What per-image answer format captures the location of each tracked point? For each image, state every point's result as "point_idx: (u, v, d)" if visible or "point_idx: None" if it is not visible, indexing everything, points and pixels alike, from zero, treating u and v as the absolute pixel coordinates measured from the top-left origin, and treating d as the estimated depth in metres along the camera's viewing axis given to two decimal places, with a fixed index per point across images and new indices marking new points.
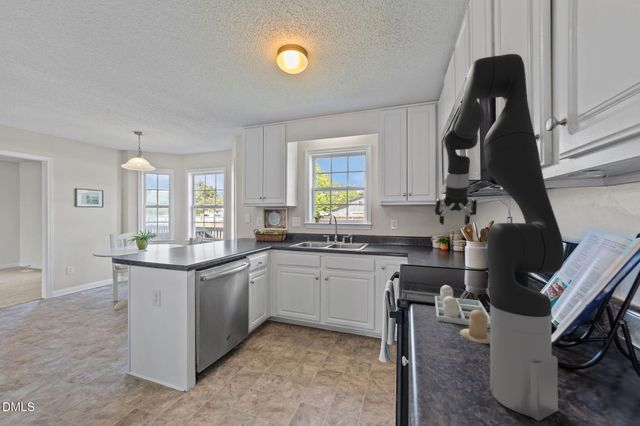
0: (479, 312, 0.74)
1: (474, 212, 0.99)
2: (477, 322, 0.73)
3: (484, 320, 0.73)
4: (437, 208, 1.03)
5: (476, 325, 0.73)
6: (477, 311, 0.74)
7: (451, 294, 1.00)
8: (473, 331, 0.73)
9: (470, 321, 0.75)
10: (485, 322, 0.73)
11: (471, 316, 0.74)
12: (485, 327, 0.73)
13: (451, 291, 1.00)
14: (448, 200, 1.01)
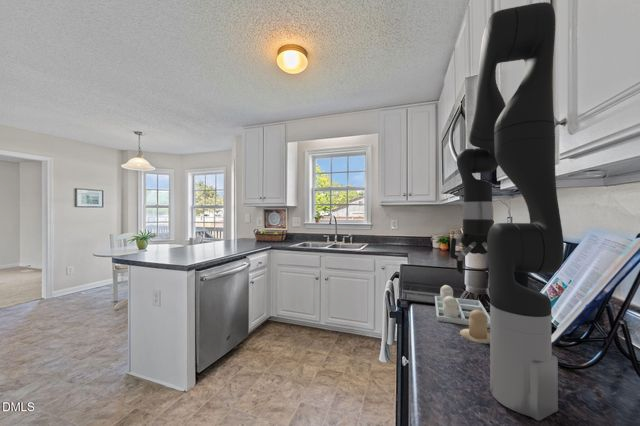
0: (479, 312, 0.74)
1: None
2: (477, 322, 0.73)
3: (484, 320, 0.73)
4: (452, 249, 0.76)
5: (476, 325, 0.73)
6: (477, 311, 0.74)
7: (451, 294, 1.00)
8: (473, 331, 0.73)
9: (470, 321, 0.75)
10: (485, 322, 0.73)
11: (471, 316, 0.74)
12: (485, 327, 0.73)
13: (451, 291, 1.00)
14: (467, 238, 0.75)
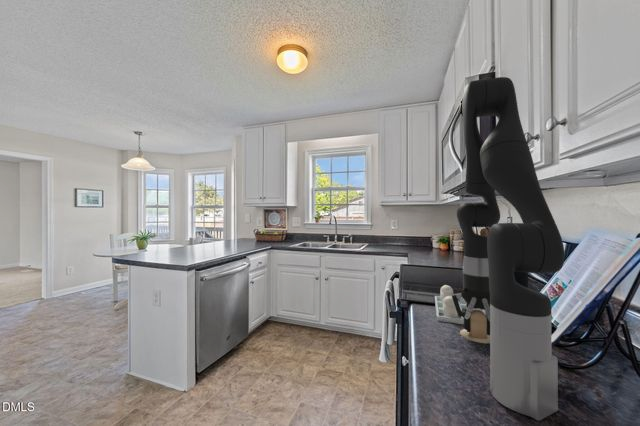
0: (479, 312, 0.74)
1: None
2: (477, 322, 0.73)
3: (484, 320, 0.73)
4: (457, 307, 0.76)
5: (476, 325, 0.73)
6: (477, 311, 0.74)
7: None
8: (473, 331, 0.73)
9: (470, 321, 0.75)
10: (485, 322, 0.73)
11: (471, 316, 0.74)
12: (485, 327, 0.73)
13: (451, 291, 1.00)
14: (466, 292, 0.75)
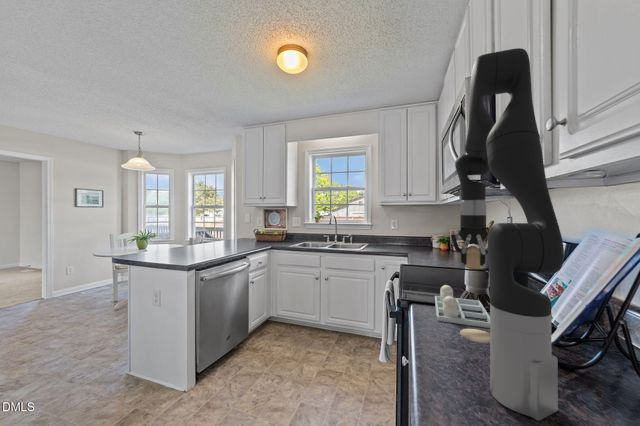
0: (474, 247, 0.87)
1: None
2: (472, 254, 0.86)
3: (478, 253, 0.86)
4: (455, 244, 0.89)
5: (471, 257, 0.86)
6: (472, 246, 0.87)
7: (451, 294, 1.00)
8: (469, 263, 0.87)
9: (466, 255, 0.88)
10: (479, 254, 0.86)
11: (467, 251, 0.87)
12: (479, 259, 0.86)
13: (451, 291, 1.00)
14: (463, 231, 0.88)
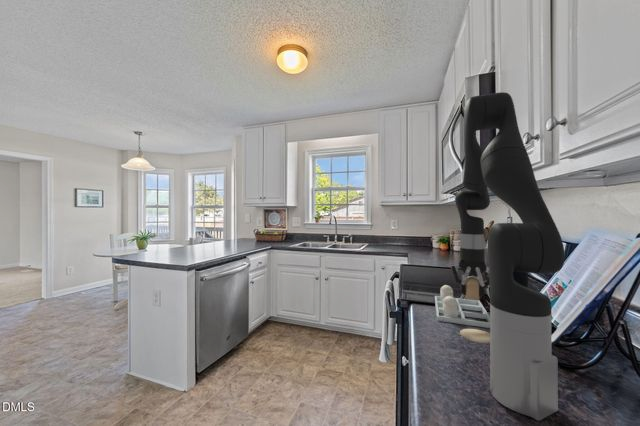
0: (473, 278, 0.91)
1: (489, 282, 0.89)
2: (471, 286, 0.90)
3: (477, 285, 0.90)
4: (455, 275, 0.93)
5: (470, 289, 0.90)
6: (471, 278, 0.91)
7: (451, 294, 1.00)
8: (468, 294, 0.91)
9: (466, 286, 0.92)
10: (478, 286, 0.90)
11: (466, 282, 0.92)
12: (478, 290, 0.90)
13: (451, 291, 1.00)
14: (462, 263, 0.92)
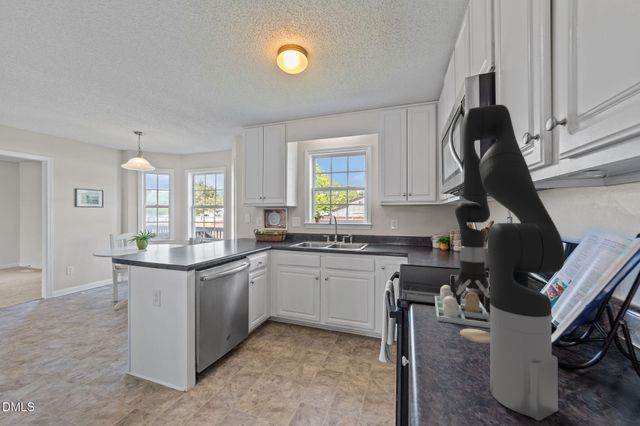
0: (473, 294, 0.91)
1: None
2: (471, 302, 0.90)
3: (477, 301, 0.90)
4: (452, 284, 0.93)
5: (470, 304, 0.90)
6: (471, 293, 0.91)
7: (451, 294, 1.00)
8: (468, 309, 0.91)
9: (466, 302, 0.92)
10: (478, 302, 0.90)
11: (466, 297, 0.92)
12: (478, 306, 0.90)
13: None
14: (463, 276, 0.92)
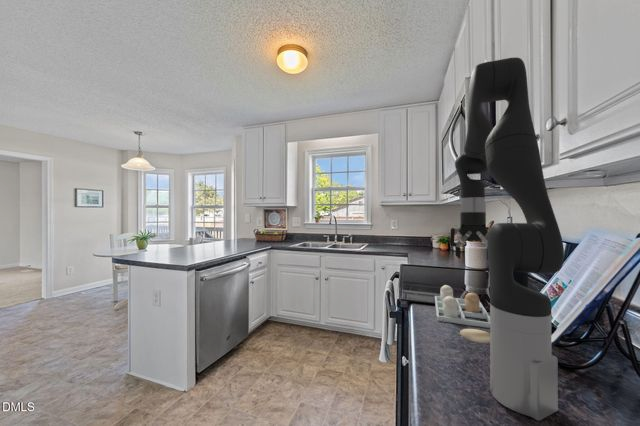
0: (473, 294, 0.91)
1: None
2: (471, 302, 0.90)
3: (477, 301, 0.90)
4: (451, 237, 0.91)
5: (470, 304, 0.90)
6: (471, 293, 0.91)
7: (451, 294, 1.00)
8: (468, 309, 0.91)
9: (466, 302, 0.92)
10: (478, 302, 0.90)
11: (466, 297, 0.92)
12: (478, 306, 0.90)
13: (451, 291, 1.00)
14: (464, 228, 0.90)
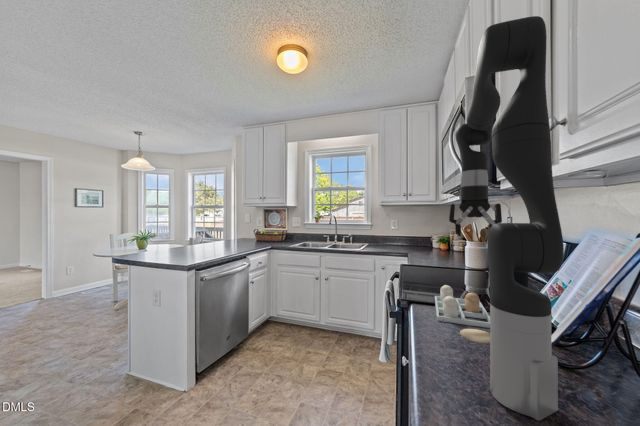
0: (473, 294, 0.91)
1: (499, 219, 0.80)
2: (471, 302, 0.90)
3: (477, 301, 0.90)
4: (451, 214, 0.85)
5: (470, 304, 0.90)
6: (471, 293, 0.91)
7: (451, 294, 1.00)
8: (468, 309, 0.91)
9: (466, 302, 0.92)
10: (478, 302, 0.90)
11: (466, 297, 0.92)
12: (478, 306, 0.90)
13: (451, 291, 1.00)
14: (464, 204, 0.83)
